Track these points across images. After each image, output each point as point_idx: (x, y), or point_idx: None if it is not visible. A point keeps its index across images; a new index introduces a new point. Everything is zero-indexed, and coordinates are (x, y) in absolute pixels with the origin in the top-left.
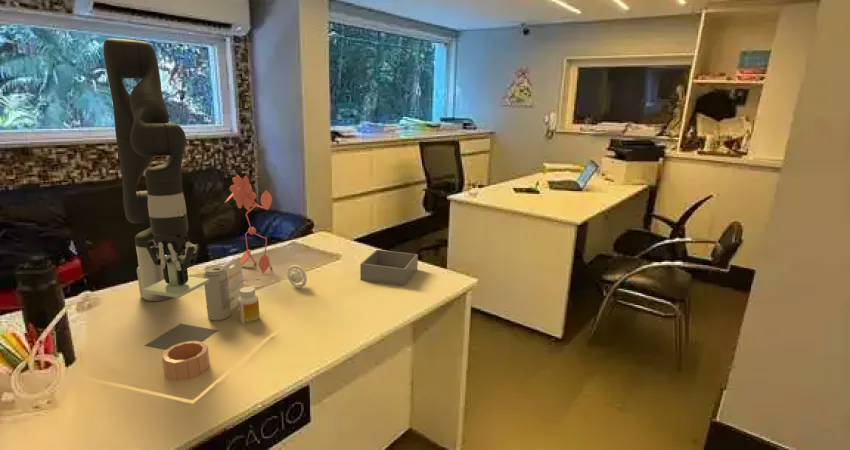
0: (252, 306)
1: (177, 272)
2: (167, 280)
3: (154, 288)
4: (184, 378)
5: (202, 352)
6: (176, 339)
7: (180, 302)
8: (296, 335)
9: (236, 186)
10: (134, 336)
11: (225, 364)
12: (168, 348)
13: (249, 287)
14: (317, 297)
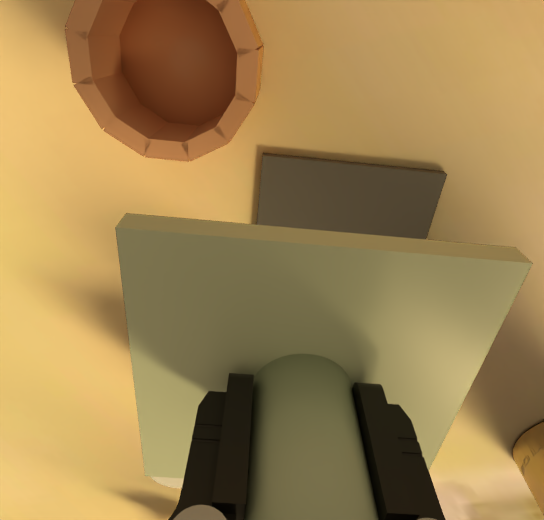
0: None
1: (236, 481)
2: (364, 400)
3: (428, 297)
4: None
5: (82, 75)
6: (353, 232)
7: (475, 421)
8: (8, 326)
9: None
10: (523, 230)
11: (85, 130)
12: (256, 73)
13: (178, 483)
14: (107, 488)
